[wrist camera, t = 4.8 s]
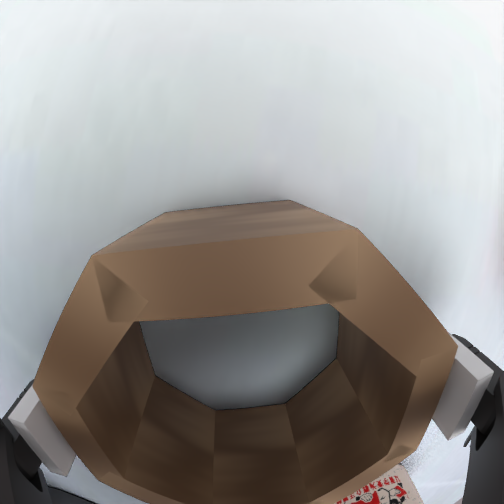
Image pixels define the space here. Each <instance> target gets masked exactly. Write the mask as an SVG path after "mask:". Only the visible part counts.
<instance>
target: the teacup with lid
mask: <svg viewBox="0 0 504 504" xmlns="http://www.w3.org/2000/svg"><path fill="white" fill-rule="evenodd" d="M334 504H424V503H423V501H422V499H421V497H420V495H419V493H418V491H417V489H416V487H415V485H414V484H413V482H412V480H411V478H410V476H409V474H408V472H407V471H406V469H405V467H403V466H402V465H398V464H397V465H396V466H394V467H393V468H392V469H390V470H389V471H387V472H386V473H384V474H383V475H382V476H380V477H379V478H377V479H375V480H374V481H372V482H371V483H369V484H368V485H366V486H364V487H363V488H361V489H359V490H358V491H356V492H354V493H353V494H351V495H349V496H347V497H346V498H344V499H342V500H340V501H338V502H336V503H334Z"/></svg>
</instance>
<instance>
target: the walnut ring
mask: <svg viewBox="0 0 504 504" xmlns="http://www.w3.org/2000/svg"><path fill="white" fill-rule="evenodd" d="M328 303H329V304H330V305H331V306H333V307H334V308H335V309H336V310H337V311H339V328H338V343H337V356H336V359H335V360H334V361H333V362H332V363H331V364H330V365H329V366H328V367H326V368H325V369H324V370H323V371H322V372H321V373H320V374H319V375H318V376H317V377H316V378H314V379H313V380H312V381H311V382H310V383H309V384H308V385H307V386H305V387H304V388H303V389H302V390H301V391H300V392H298V393H297V394H296V395H295V396H294V397H293V398H291V399H290V400H289V401H288V402H287V403H285V404H279V405H271V406H262V407H253V408H242V409H230V410H214V409H212V408H210V407H208V406H206V405H204V404H202V403H201V402H199V401H197V400H195V399H193V398H191V397H190V396H188V395H186V394H184V393H183V392H181V391H179V390H178V389H176V388H174V387H173V386H171V385H169V384H168V383H166V382H164V381H163V380H161V379H160V378H158V377H156V376H155V374H154V370H153V367H152V364H151V361H150V358H149V355H148V351H147V348H146V345H145V341H144V338H143V334H142V331H141V327H140V323H139V321H156V320H174V319H189V318H203V317H215V316H226V315H237V314H247V313H257V312H266V311H275V310H283V309H291V308H299V307H307V306H314V305H321V304H328ZM457 349H458V345H457V344H456V343H455V341H454V340H453V339H452V337H451V336H450V335H449V333H448V332H447V331H446V329H445V328H444V327H443V325H442V324H441V323H440V322H439V320H438V319H437V318H436V316H435V315H434V314H433V313H432V311H431V310H430V309H429V308H428V307H427V305H426V304H425V303H424V302H423V300H422V299H421V298H420V297H419V296H418V294H417V293H416V292H415V291H414V290H413V289H412V287H411V286H410V285H409V284H408V283H407V282H406V280H405V279H404V278H403V277H402V276H401V275H400V274H399V272H398V271H397V270H396V269H395V268H394V267H393V266H392V265H391V263H390V262H389V261H388V260H387V259H386V258H385V257H384V256H383V255H382V254H381V253H380V251H379V250H378V249H377V248H376V247H375V246H374V245H373V244H372V243H371V242H370V241H369V240H368V239H367V238H366V237H365V236H364V235H363V233H362V232H361V231H360V230H359V229H357V228H355V227H353V226H350V225H348V224H346V223H344V222H341V221H339V220H337V219H334V218H332V217H330V216H327V215H325V214H323V213H320V212H318V211H315V210H313V209H311V208H308V207H306V206H303V205H301V204H298V203H296V202H293V201H291V200H284V201H271V202H259V203H248V204H237V205H227V206H217V207H208V208H199V209H190V210H181V211H173V212H165V213H163V214H162V215H160V216H158V217H156V218H154V219H153V220H151V221H149V222H147V223H145V224H144V225H142V226H140V227H138V228H137V229H135V230H133V231H131V232H130V233H128V234H126V235H125V236H123V237H121V238H119V239H118V240H116V241H114V242H113V243H111V244H109V245H108V246H106V247H105V248H103V249H101V250H100V251H98V252H96V253H95V254H93V255H92V256H91V258H90V260H89V261H88V263H87V265H86V267H85V268H84V270H83V272H82V274H81V276H80V278H79V280H78V281H77V283H76V285H75V287H74V289H73V291H72V293H71V295H70V297H69V299H68V301H67V303H66V305H65V307H64V309H63V312H62V314H61V316H60V318H59V320H58V322H57V325H56V327H55V329H54V331H53V334H52V336H51V338H50V341H49V343H48V345H47V348H46V350H45V353H44V355H43V358H42V360H41V363H40V366H39V368H38V371H37V374H36V377H35V380H34V382H33V385H32V387H33V389H34V390H35V392H36V394H37V396H38V398H39V399H40V401H41V403H42V404H43V406H44V408H45V409H46V411H47V413H48V414H49V416H50V417H51V419H52V420H53V422H54V424H55V425H56V427H57V428H58V430H59V431H60V432H61V434H62V435H63V437H64V438H65V440H66V441H67V442H68V444H69V445H70V446H71V448H72V449H73V450H74V452H75V453H76V454H77V456H78V457H79V458H80V459H81V461H82V462H83V463H84V464H85V466H86V467H87V468H88V469H89V470H90V472H91V473H92V474H93V475H94V476H95V477H96V479H97V480H99V481H100V482H102V483H104V484H106V485H108V486H110V487H112V488H114V489H116V490H119V491H121V492H123V493H125V494H127V495H130V496H132V497H134V498H136V499H139V500H141V501H144V502H146V503H149V504H334V503H336V502H338V501H340V500H342V499H344V498H346V497H347V496H349V495H351V494H353V493H354V492H356V491H358V490H359V489H361V488H363V487H364V486H366V485H368V484H369V483H371V482H372V481H374V480H375V479H377V478H379V477H380V476H382V475H383V474H384V473H386V472H387V471H389V470H390V469H392V468H393V467H394V466H396V465H397V464H399V463H400V462H401V461H403V460H404V459H405V458H407V457H408V456H409V455H410V454H412V453H413V452H414V451H416V449H417V447H418V446H419V444H420V442H421V440H422V438H423V436H424V434H425V432H426V430H427V428H428V425H429V423H430V421H431V419H432V417H433V414H434V412H435V410H436V407H437V405H438V403H439V400H440V398H441V395H442V393H443V390H444V388H445V385H446V382H447V379H448V377H449V374H450V371H451V368H452V365H453V362H454V359H455V355H456V352H457Z"/></svg>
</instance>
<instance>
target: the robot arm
mask: <svg viewBox="0 0 504 504" xmlns="http://www.w3.org/2000/svg"><path fill="white" fill-rule="evenodd" d="M447 332H448V331H447ZM448 333H449V332H448ZM449 335H450V336H451V337H452V339H453V340H454V341H455V343H456V344H457V345H458V349H457V352H456V355H455V359H454V362H453V365H452V368H451V371H450V374H449V377H448V379H447V382H446V385H445V388H444V390H443V393H442V395H441V398H440V400H439V403H438V405H437V407H436V410H435V412H434V414H433V417H432V419H433V420H434V422H435V423H436V425H437V426H438V427H439V429H440V430H441V431H442V433H443V434H444V436H445V437H446V438H447V440H448V441H449V440H451V439H452V438H454V437H456V436H458V435H460V434H462V433H463V432H464V431H465V430H466V428H467V426H468V424H469V423H470V421H472V422H473V424H474V425H475V426H474V428H473V430H472V431H471V433H470V435H469V436H468V438H467V439H466V441H465V443H464V446H463V447H466V446H467V444H468V443H469V441H470V440H471V445H470V457H469V465H468V472H467V479H466V485H465V490H464V495H463V500H462V504H504V371H503V370H501V369H500V368H499V367H498V366H497V365H496V364H495V363H493V362H492V361H491V360H490V359H489V358H488V357H486V356H485V355H484V354H483V353H482V352H479V350H478V349H477V348H476V347H473V345H472V344H471V343H470V342H468V341H467V340H466V339H465V338H462V337H460V336H458V335H455V334H452V335H451V334H450V333H449ZM34 380H35V379H33V380H32V381H31V382H30V383H29V384H28V385H27V387H26V388H25V389H24V392H22V393H21V394H20V396H19V398H17V400H16V401H15V402H14V404H13V405H12V406H11V408H10V409H9V410H8V412H7V413H6V414H5V416H4V417H3V419H2V420H1V418H0V504H93V503H91V502H88V501H86V500H84V499H81V498H79V497H76V496H74V495H71V494H68V493H66V492H63V491H60V490H57V489H54V488H51V487H47V484H46V480H45V477H44V474H43V472H42V470H41V469H40V468H39V467H40V465H41V463H43V464H44V465H45V466H46V467H47V468H48V469H49V471H50V472H53V473H56V474H59V475H62V476H65V477H67V476H68V473H69V471H70V468H71V466H72V464H73V461H74V459H75V457H76V453H75V452H74V450H73V449H72V448H71V446H70V445H69V444H68V442H67V441H66V440H65V438H64V437H63V435H62V434H61V432H60V431H59V430H58V428H57V427H56V425H55V424H54V422H53V420H52V419H51V417H50V416H49V414H48V413H47V411H46V409H45V408H44V406H43V404H42V403H41V401H40V399H39V398H38V396H37V394H36V392H35V390H34V389H33V387H32V385H33V382H34Z"/></svg>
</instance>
